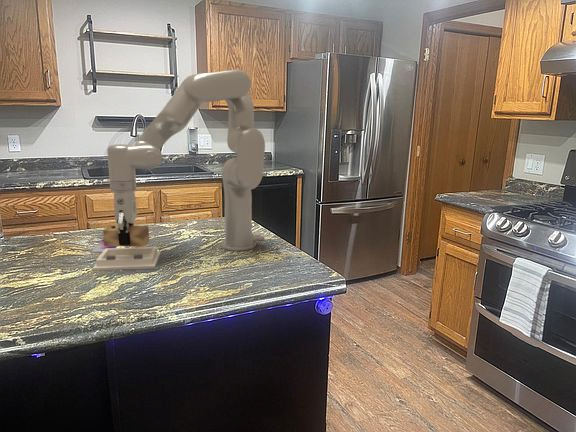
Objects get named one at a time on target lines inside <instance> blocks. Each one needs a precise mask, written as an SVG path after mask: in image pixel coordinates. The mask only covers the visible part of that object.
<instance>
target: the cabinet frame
mask: <svg viewBox="0 0 576 432" xmlns="http://www.w3.org/2000/svg"><path fill="white" fill-rule="evenodd" d="M161 254H162V253H161V251H158V247H157V246H148V247H147V246H146V247H145V246H144V247H116V248H106V249H105V250H104V251H103V252H102V253H100V255H99V256H98V257H97V258H96V259H95V265H93V267H92V272H94V271H95V272H96V271H98V272H99V271H120V270H121V271H122V270H147V269H149V270H150V269H151V270H152V269H156V266H157V264H158V262H159V259H160V256H161Z"/></svg>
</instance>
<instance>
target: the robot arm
mask: <svg viewBox="0 0 576 432" xmlns="http://www.w3.org/2000/svg"><path fill="white" fill-rule="evenodd" d="M251 88H252V81H251V78H250V76H249V75H248V74H247V72H245V71H244V70H242V69H238V68H237V69H229V70H221V71H215V72H203V73H202V72H201V73H196V74H191V75H188V76H187V77H186V78H184V80H183V81H182V82H181V83H180V85H179V86H178V88H177V89H176V90H175V92H174V93H173V95H172V96H171V98H170V99H168V100H169V101H168V102H167V103H166V104H165V106H164V107H163V108H162V110H161V111H160V112H159V113H158V114H157V115H156V116H155V117H154V119H153V120H152V121H151V122H150V123H149V124H148V126H147V127H146V128H145V129H144V131H143V132H142V133H141V135H140V136H139V137H138V139H137V140H136V142H135V143H134V145H133V146H132V145H130V144H110V145H109V146H108V147H107V152H106V153H107V164H108V166H107V167H108V176H109V188H110V189H109V191H110V192H112V193H113V206H114V207H113V208H114V209H113V210H114V221H115V223H116V224H117V226H118V236H119V245H120V246H119V247H124V246H123V245H130V232H128V228H129V226H135V225H134V224H135V223H134V222H135V221H136V219H137V218H138V210H137V199H136V194H135V191H137V189H138V188H137V176H136V175H137V174H136V169H142V170H153V169H157V168H158V167H159V166H160V165H161V164H162V161H163V154H162V151H161V150H162V148H163V146H164V145H165V144H166V143H167V141H168V140H170V139H171V137H173V136H175V135H176V134H178V133H179V132H181V131H182V130H184V129H185V128H186V127H187V126H188V124H189V122H190V121H191V119H192V118H193V117H194V116H195V114H196V113H197V111H198V110H199V109H200V108H201V106H202V105H203V103H211V102H212V103H214V102H221V101H225V103H226V106H227V108H228V126H227V137H226V138H227V139H226V141H227V147H228V149H229V150H230V151H231V152H233V153H235V154H236V157H232V158H229V159H228V160H226V161H225V162H224V164H223V166H222V169H221V177H222V184H223V185H222V186H223V192H224V194H223V196H224V235H225V236H224V239H223V240H222V241H221V242H220V247H221V248H222V249H224V250H227V251H233V252H234V251H236V252H240V251H248V250H251V249H254V248H255V247H256V246H257V242H265V235H261V234H254V233H253V231H252V229H253V228H252V227H253V225H252V220H253V219H252V216H253V215H252V212H253V211H252V203H253V201H252V199H253V198H252V195H253V194H252V190H254V189H256V188H257V187H258V186H259V184H261V181H262V178H263V175H264V164H265V153H266V152H265V151H266V149H265V148H266V142H265V137H264V135H263V133H262V132H261V130H259V129H258V128H256V127H255V126H254V125H255V109H254V108H255V107H254V102H253V99H252V97H251V95H250V93H249V92H250V90H251ZM125 226H126V227H125Z"/></svg>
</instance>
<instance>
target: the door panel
mask: <svg viewBox="0 0 576 432" xmlns="http://www.w3.org/2000/svg"><path fill="white" fill-rule="evenodd" d="M125 227H126V226H125ZM149 230H150V228H149V225H134V226H129V228H128V232H130V245H123V246H122V247H136V248H140V247H145V246H146V245H147V244H148V243H149V242H150V232H149ZM102 231H103V232H102V234H103V239H104V246H117V247H121V246H120V245H119V236H118V224H117V225H109V226H108V227H106V228H105V229H103V230H102Z"/></svg>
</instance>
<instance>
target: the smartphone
mask: <svg viewBox="0 0 576 432" xmlns="http://www.w3.org/2000/svg"><path fill="white" fill-rule="evenodd" d="M106 248H118V246H104V238H103V239H102V240H101V241H99V242H98V244H96V245H95V246H94V247H93V248H92V250H90V251H89V253H90V254H101V253H102V252H103V251H104V250H105V249H106Z"/></svg>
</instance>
